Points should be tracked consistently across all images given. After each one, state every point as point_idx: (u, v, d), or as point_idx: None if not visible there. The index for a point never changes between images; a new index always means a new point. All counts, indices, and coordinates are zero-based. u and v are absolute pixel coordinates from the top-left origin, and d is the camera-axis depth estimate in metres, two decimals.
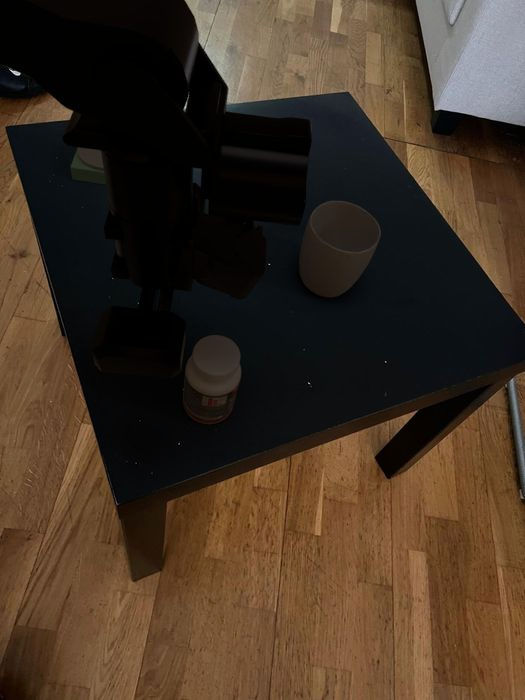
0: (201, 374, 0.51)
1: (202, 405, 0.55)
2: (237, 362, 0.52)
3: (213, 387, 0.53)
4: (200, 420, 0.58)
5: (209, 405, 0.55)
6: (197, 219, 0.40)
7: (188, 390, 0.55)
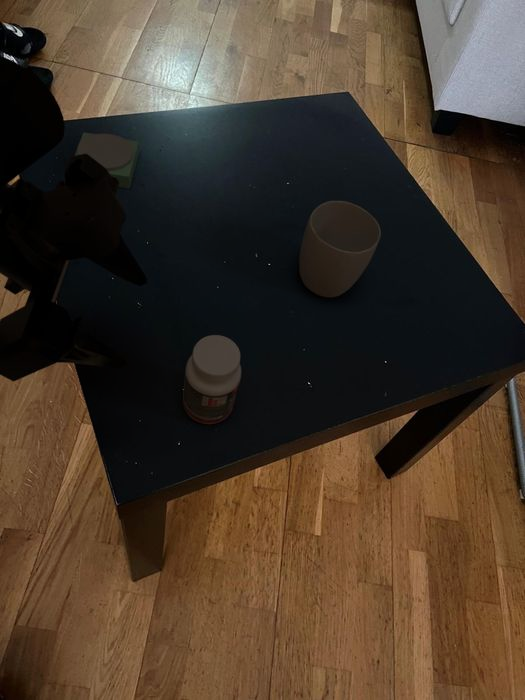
0: (201, 374, 0.51)
1: (202, 405, 0.55)
2: (237, 362, 0.52)
3: (213, 387, 0.53)
4: (200, 420, 0.58)
5: (209, 405, 0.55)
6: (32, 202, 0.39)
7: (188, 390, 0.55)
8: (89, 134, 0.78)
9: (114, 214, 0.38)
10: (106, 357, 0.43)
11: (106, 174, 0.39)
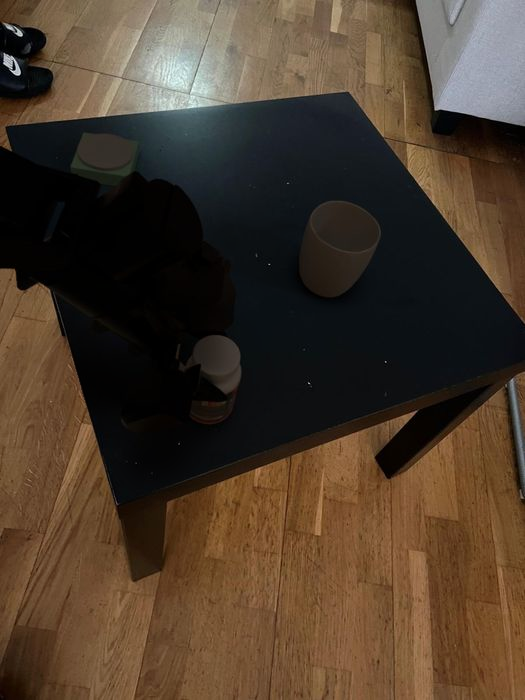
0: (201, 374, 0.51)
1: (202, 405, 0.55)
2: (237, 362, 0.52)
3: None
4: (200, 420, 0.58)
5: (209, 405, 0.55)
6: (159, 283, 0.45)
7: None
8: (89, 134, 0.78)
9: (230, 294, 0.45)
10: (213, 395, 0.51)
11: (222, 259, 0.45)
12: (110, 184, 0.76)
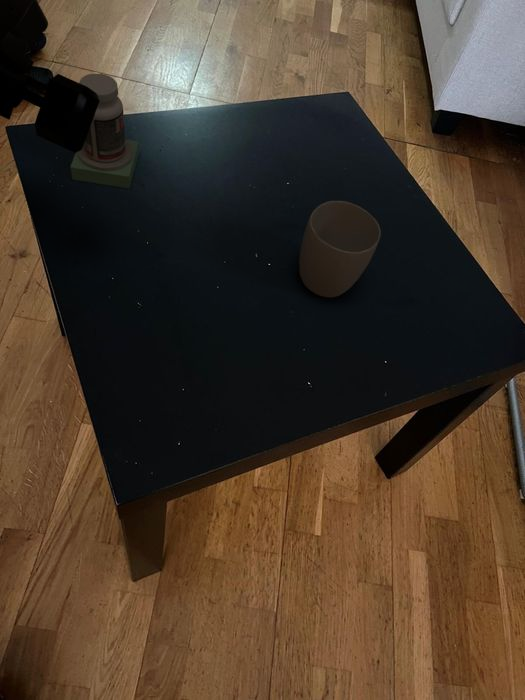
0: (107, 99, 0.68)
1: (117, 133, 0.72)
2: (112, 78, 0.69)
3: (116, 106, 0.70)
4: (119, 154, 0.75)
5: (120, 128, 0.72)
6: None
7: (102, 130, 0.70)
8: None
9: None
10: None
11: None
12: (110, 184, 0.76)
